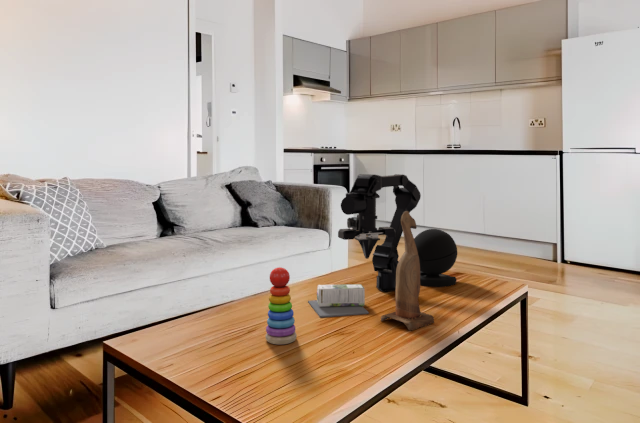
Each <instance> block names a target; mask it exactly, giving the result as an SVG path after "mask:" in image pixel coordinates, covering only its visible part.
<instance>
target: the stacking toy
mask: <svg viewBox="0 0 640 423" xmlns="http://www.w3.org/2000/svg"><path fill="white" fill-rule="evenodd" d="M290 276H291V275H290V273H289V271H288V270H287V269H286V268H284V267H280V266H279V267H275V268H274V269H272V271H271V272H270V274H269V281H270V283H271V285H272V286H271V287H270V288H269V292H270V293H269V294H270V296H269V298H268V301H269V303H268V305H267V306H268V312H267V316H268V318H267V319H266V324H267V326H266V327H265V332H266V333H265V341H267V342H268V343H270V344H272V345H287V344H288V345H289V344H291V343H293V342H295V341H296V340H297V332H296V326H295V323H296V322H295V318H294V315H295V314H294V310H293V309H292V307H293V303H292V302H291V300H292V296H291V294H290V291H291V288H290V287H289V286H288V284H289V282H290V279H291V277H290Z"/></svg>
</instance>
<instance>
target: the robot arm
mask: <svg viewBox="0 0 640 423" xmlns="http://www.w3.org/2000/svg"><path fill="white" fill-rule="evenodd" d="M401 186H402V187H401ZM389 187H392V188H393V189H392V193H393V195H394V196H395V198H394V203H395V206H396V208H395V211H394V213H393V216H392V219H391V222H390V225H389V226H379V227H378V228H377V227H376V226H377V219H378V215H376V214H377V199H380V196H381V195H379V193H377V192H378V191H381V190H382V189H383V188H389ZM421 196H422V195H421V192H420V191H419V188H418V187H417V185H416V184H415V183H414V182H413V181H411V180H410V179H409V178H408V176H407V175H405V174H396V173H395V174H392V175H378V174H362V173H360V174H358V175H357V177H356V178H355V180H354V183H353V185H352V187H351V189H350V191H349V192H348V193H347V192H346V193H345V197H344V198H342V200H341V203H340V208H341V212H343V214H345V215H348V216H350V215H356V219H355V218H354V217H348V218H347V221H346V227H347V228H340V229H339V230H338V231H337V237H338V238H339V239H341V240H345V241H346V240H356V241H358V244H359V245H360V247H361V250H362V252H363V256H364V259H369V258H370V256H371V254H372V258H371V260H372V261H371V262H372V266H373V271H374V272H377V275H376V285H375V288H377V289H378V290H379V291H381V292H396V269H397V265H398V262H399V257H400V256H399V252H398V246H399V243H400V240H401V238H402V235H403V229H402V225H401V216H402V214H403V213H404V212H405V211H408V212H409V214H410V212H412V211H413V210H415V209H416V207H417V206H418V204H419V202H420V200H421ZM384 235H385V239H384V241H383V243H382V244H381V245H380V244H377V243H378V241H380V240H381V238H380V237H379V236H384ZM376 244H377V245H376ZM374 248H375V249H374ZM373 249H374V251H373ZM372 252H373V253H372Z"/></svg>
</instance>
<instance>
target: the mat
mask: <svg viewBox="0 0 640 423" xmlns="http://www.w3.org/2000/svg"><path fill="white" fill-rule="evenodd" d="M307 303H308V305H310V306H311V308H312V310H314V312H315V313H316V314H317V316H318V318H331V317H332V318H333V317H343V316H344V317H346V316H358V315H368V314H370V312H369V311H368V310H367V309H366V308H364V306H325V307H320V306H319V304H318V302H317V299H313V300H307Z"/></svg>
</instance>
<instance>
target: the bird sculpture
mask: <svg viewBox="0 0 640 423" xmlns="http://www.w3.org/2000/svg"><path fill="white" fill-rule="evenodd" d="M401 225H402V229H403V232H402V235H403V241H404V253H403V254H402V255H401V257H400V258H399V259H398V261H399V262H398V265H397V269H396V291H395V311H393V312H389V313H385V314H382V315H381V317H380V322H383V321H386V320H389V319H393V320H396V321H399V322H402V323H403V324H404V325H405V326H406V328H407V330H408V332H409V331H411V330H412V331H413V330H414V329H416V330H417V329H420V328H419V327H421V328H423V326H424V327H426V326H425V325H427V326H429V325H428V324H430V325H432V324H431V323H434V324H435V317H434V316H433V315H432V314H429V313H426V312H424V311H421V308H420V303H419V297H420V292H421V285H420V263H419V256H418V252H417V248H416V244H415V241H414V234H413V232H412V229H415V230H416V229H417V223H416V220H415V218H414V217H412V215H411V214H410V213H409V212H408V211H405V212H404V213H403V214H402V216H401Z"/></svg>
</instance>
